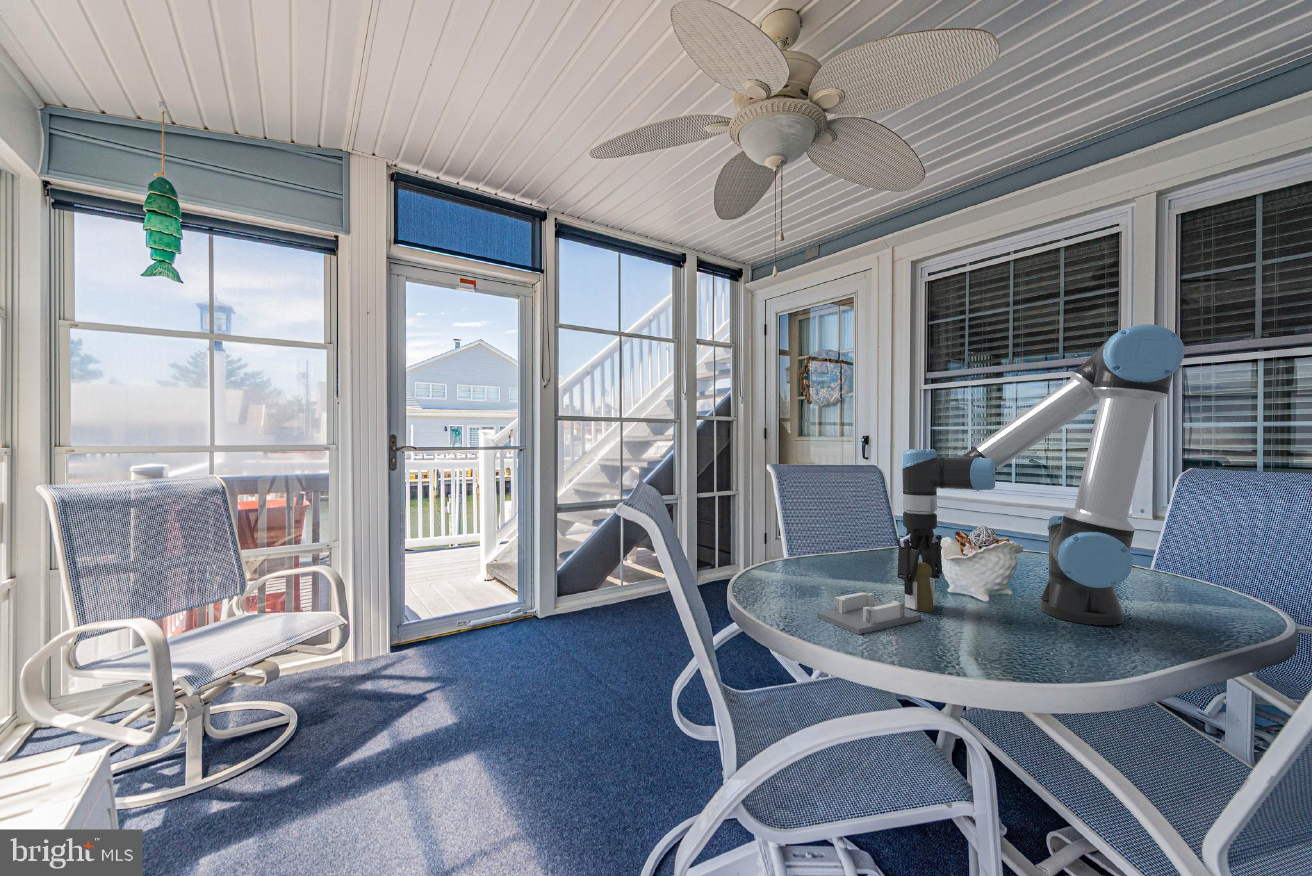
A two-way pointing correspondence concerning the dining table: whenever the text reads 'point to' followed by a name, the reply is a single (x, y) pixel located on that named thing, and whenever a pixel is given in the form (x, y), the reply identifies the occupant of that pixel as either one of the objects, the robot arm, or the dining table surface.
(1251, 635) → the dining table surface
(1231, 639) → the dining table surface
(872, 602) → the base
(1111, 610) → the robot arm
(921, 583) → the cork
